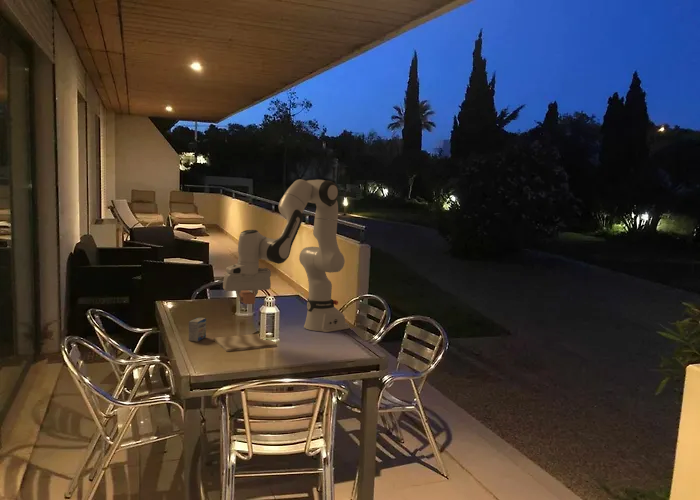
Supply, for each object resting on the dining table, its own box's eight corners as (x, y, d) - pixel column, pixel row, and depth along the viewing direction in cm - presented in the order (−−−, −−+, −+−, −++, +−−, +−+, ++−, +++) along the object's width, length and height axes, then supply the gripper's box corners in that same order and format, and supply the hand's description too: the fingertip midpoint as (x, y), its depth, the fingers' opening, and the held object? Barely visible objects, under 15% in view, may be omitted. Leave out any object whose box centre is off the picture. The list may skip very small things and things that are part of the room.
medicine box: (197, 342, 241) (198, 322, 240) (188, 340, 242) (188, 321, 241) (206, 337, 249) (206, 318, 248) (196, 336, 250) (197, 317, 249)
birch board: (261, 335, 256) (261, 333, 256) (276, 346, 241) (276, 343, 241) (213, 340, 245) (213, 337, 245) (226, 351, 230) (226, 349, 230)
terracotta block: (246, 289, 245) (255, 294, 237) (246, 299, 246) (254, 303, 237) (238, 290, 243) (246, 294, 235) (237, 299, 244) (245, 304, 235)
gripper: (268, 266, 246) (266, 298, 248) (222, 267, 236) (221, 300, 237) (273, 269, 241) (272, 300, 242) (227, 270, 231) (225, 303, 232)
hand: (246, 300), depth 240 cm, fingers closed on terracotta block, 4 cm apart
